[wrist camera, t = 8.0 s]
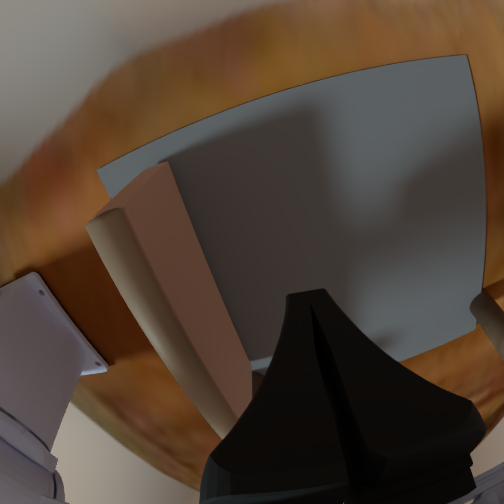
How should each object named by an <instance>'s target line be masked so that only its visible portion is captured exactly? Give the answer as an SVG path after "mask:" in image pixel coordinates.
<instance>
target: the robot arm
mask: <svg viewBox="0 0 504 504" xmlns="http://www.w3.org/2000/svg"><path fill="white" fill-rule="evenodd" d="M108 368H109V366H108V364H107V363H106V362H105V361H104V360H103V358H102V357H101V356H100V355H99V354H98V353H97V351H96V350H95V349H94V348H93V347H92V345H91V344H90V343H89V342H88V341H87V339H86V338H85V337H84V336H83V334H82V333H81V332H80V331H79V329H78V328H77V327H76V326H75V324H74V323H73V322H72V320H71V319H70V318H69V316H68V315H67V314H66V313H65V311H64V310H63V308H62V307H61V306H60V304H59V303H58V302H57V300H56V299H55V297H54V296H53V295H52V293H51V292H50V290H49V289H48V287H47V286H46V284H45V283H44V281H43V280H42V278H41V277H40V276H39V274H37V273H36V272H31V273H29V274H27V275H25V276H23V277H21V278H19V279H17V280H15V281H13V282H11V283H9V284H7V285H5V286H4V287H2V288H0V504H69V503H66V502H65V494H64V486H63V482H62V479H61V476H60V474H59V473H58V472H57V470H55V468H56V465H57V461H58V459H57V458H56V457H55V456H53V455H52V454H51V453H50V452H51V449H52V446H53V443H54V440H55V438H56V435H57V432H58V430H59V427H60V424H61V422H62V419H63V416H64V414H65V412H66V409H67V406H68V404H69V402H70V399H71V397H72V394H73V392H74V390H75V387H76V385H77V382H78V380H79V378H80V376H81V375H87V374H94V373H101V372H106V371H107V370H108ZM486 429H487V428H486V426H485V424H484V421H483V419H482V417H481V415H480V413H479V412H478V410H477V409H476V407H475V406H474V404H473V403H472V401H470V400H468V399H466V398H463V397H461V396H458V395H456V394H454V393H451V392H449V391H446V390H444V389H442V388H440V387H438V386H436V385H434V384H432V383H430V382H429V381H427V380H425V379H424V378H422V377H420V376H419V375H417V374H416V373H414V372H412V371H411V370H409V369H407V368H406V367H404V366H403V365H402V364H400V363H399V362H397V361H396V360H395V359H393V358H392V357H391V356H389V355H388V354H387V353H386V352H384V351H383V350H382V349H381V348H379V347H378V346H377V345H376V344H375V343H374V342H373V341H371V340H370V339H369V338H368V337H367V336H366V335H365V334H364V333H363V332H362V331H361V330H360V329H359V328H358V327H357V326H356V325H355V324H354V323H353V322H352V321H351V320H350V319H349V317H348V316H347V315H346V314H345V313H344V312H343V311H342V310H341V308H340V307H339V306H338V305H337V304H336V302H335V301H334V300H333V299H332V297H331V296H330V294H329V293H328V292H327V290H325V289H324V288H321V289H315V290H309V291H303V292H297V293H291V294H288V295H287V296H286V308H285V315H284V321H283V325H282V329H281V333H280V337H279V340H278V343H277V346H276V349H275V352H274V354H273V357H272V360H271V362H270V365H269V367H268V369H267V371H266V374H265V376H264V378H263V380H262V382H261V384H260V386H259V387H258V389H257V391H256V393H255V395H254V397H253V398H252V400H251V402H250V403H249V405H248V406H247V408H246V409H245V411H244V412H243V414H242V415H241V416H240V418H239V419H238V421H237V422H236V424H235V425H234V426H233V428H232V429H231V430H230V432H229V433H228V434H227V435H226V436H225V438H224V439H223V440H222V441H221V442H220V443H219V445H218V446H217V447H216V448H215V449H214V450H213V451H212V452H211V454H210V455H209V457H208V460H207V463H206V466H205V469H204V472H203V476H202V481H201V486H200V501H199V504H343V503H344V504H464V503H466V502H468V501H471V500H473V499H474V501H473V503H471V504H504V462H503V463H501V464H499V465H497V466H496V467H494V468H492V469H490V470H488V471H486V472H484V473H482V474H480V475H478V476H477V477H474V478H473V475H472V472H471V469H470V467H471V466H472V465H473V462H472V459H471V456H470V453H471V452H472V451H473V450H474V449H475V447H476V446H477V445H478V444H479V443H480V442H481V440H482V439H483V437H484V436H485V433H486Z"/></svg>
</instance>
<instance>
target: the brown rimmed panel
mask: <svg viewBox="0 0 504 504" xmlns="http://www.w3.org/2000/svg"><path fill="white" fill-rule="evenodd" d="M85 228H86V230H87V232H88V234H89V236H90V238H91V240H92V242H93V244H94V246H95V248H96V250H97V252H98V253H99V255H100V257H101V259H102V261H103V263H104V265H105V267H106V269H107V270H108V272H109V274H110V276H111V278H112V279H113V281H114V283H115V285H116V287H117V288H118V290H119V292H120V294H121V295H122V297H123V299H124V300H125V302H126V304H127V306H128V307H129V309H130V311H131V312H132V314H133V315H134V317H135V319H136V320H137V322H138V324H139V325H140V327H141V328H142V330H143V332H144V333H145V335H146V336H147V338H148V339H149V341H150V342H151V344H152V345H153V347H154V349H155V350H156V352H157V353H158V355H159V356H160V357H161V359H162V360H163V362H164V363H165V365H166V366H167V368H168V369H169V371H170V372H171V373H172V375H173V376H174V378H175V379H176V380H177V382H178V383H179V385H180V386H181V387H182V389H183V390H184V391H185V393H186V394H187V395H188V397H189V398H190V400H191V401H192V402H193V403H194V405H195V406H196V407H197V409H198V410H199V411H200V413H201V414H202V415H203V416H204V418H205V419H206V420H207V421H208V423H209V424H210V425H211V426H212V428H213V429H214V430H215V431H216V433H217V434H218V435H219V436H220V437H221V439H222V440H223V439H224V438H225V436H226V435H227V434H228V433H229V432H230V430H231V429H232V428H233V426H234V425H235V424H236V422H237V421H238V419H239V418H240V416H241V415H242V414H243V412H244V411H245V409H246V408H247V406H248V405H249V403H250V402H251V400H252V366H251V364H250V361H249V359H248V357H247V355H246V353H245V350H244V348H243V346H242V344H241V341H240V339H239V337H238V334H237V332H236V330H235V328H234V325H233V323H232V321H231V318H230V316H229V314H228V311H227V309H226V307H225V304H224V302H223V300H222V297H221V295H220V292H219V290H218V288H217V285H216V283H215V280H214V278H213V276H212V273H211V271H210V268H209V266H208V263H207V261H206V259H205V256H204V254H203V251H202V249H201V246H200V244H199V241H198V239H197V236H196V234H195V231H194V228H193V226H192V223H191V221H190V218H189V216H188V213H187V211H186V208H185V205H184V203H183V200H182V197H181V195H180V192H179V190H178V187H177V184H176V182H175V179H174V176H173V173H172V171H171V168H170V165H169V163H168V161H166V162H163V163H160V164H158V165H155V166H152V167H149V168H147V169H144V170H143V171H142V172H141V173H140V174H139V175H138V176H136V177H135V178H134V179H133V180H132V181H131V182H130V183H129V184H128V185H126V186H125V187H124V188H123V189H122V190H121V191H120V192H119V193H118V194H117V195H116V196H115V197H114V198H112V199H111V200H110V201H109V202H108V203H107V204H106V205H105V206H104V207H103V208H102V209H101V210H100V211H99V212H98V213H97V214H96V215H95V216H94V217H93V219H92V220H90V221H89V222H88V223H87V224H86V226H85Z"/></svg>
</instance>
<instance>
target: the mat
mask: <svg viewBox="0 0 504 504" xmlns="http://www.w3.org/2000/svg"><path fill="white" fill-rule="evenodd" d="M166 161H168V163H169V165H170V168H171V171H172V173H173V176H174V179H175V182H176V184H177V187H178V190H179V192H180V195H181V197H182V200H183V203H184V205H185V208H186V211H187V213H188V216H189V218H190V221H191V223H192V226H193V228H194V231H195V234H196V236H197V239H198V241H199V244H200V246H201V249H202V251H203V254H204V256H205V259H206V261H207V263H208V266H209V268H210V271H211V273H212V276H213V278H214V280H215V283H216V285H217V288H218V290H219V292H220V295H221V297H222V300H223V302H224V304H225V307H226V309H227V311H228V314H229V316H230V318H231V321H232V323H233V325H234V328H235V330H236V332H237V334H238V337H239V339H240V341H241V344H242V346H243V348H244V350H245V353H246V355H247V357H248V359H249V361H250V364H251V366H252V371H255V372H259V373H261V374H263V375H264V376H265V374H266V371H267V369H268V367H269V365H270V362H271V360H272V357H273V354H274V352H275V349H276V346H277V343H278V340H279V337H280V333H281V329H282V325H283V321H284V315H285V308H286V296H287V295H288V294H291V293H297V292H303V291H309V290H315V289H321V288H324V289H325V290H327V292H328V293H329V294H330V296H331V297H332V299H333V300H334V301H335V302H336V304H337V305H338V306H339V307H340V308H341V310H342V311H343V312H344V313H345V314H346V315H347V316H348V317H349V319H350V320H351V321H352V322H353V323H354V324H355V325H356V326H357V327H358V328H359V329H360V330H361V331H362V332H363V333H364V334H365V335H366V336H367V337H368V338H369V339H370V340H371V341H373V342H374V343H375V344H376V345H377V346H378V347H379V348H381V349H382V350H383V351H384V352H386V353H387V354H388V355H389V356H391V357H392V358H393V359H395V360H396V361H397V362H400V361H403V360H405V359H408V358H410V357H413V356H416V355H418V354H421V353H423V352H426V351H428V350H431V349H433V348H435V347H438V346H440V345H442V344H445V343H447V342H449V341H452V340H454V339H456V338H458V337H460V336H463V335H465V334H467V333H469V332H471V331H473V330H475V329H476V323H477V320H476V319H475V317H474V316H473V314H472V313H471V312H470V304H471V302H472V300H473V299H474V298H475V297H476V296H477V295H478V294H480V293H481V289H482V281H483V271H484V259H485V242H486V180H485V164H484V152H483V142H482V134H481V126H480V119H479V113H478V106H477V101H476V95H475V90H474V85H473V81H472V76H471V72H470V68H469V63H468V60H467V56H466V55H456V56H446V57H437V58H429V59H421V60H414V61H408V62H402V63H396V64H390V65H385V66H379V67H374V68H369V69H365V70H360V71H355V72H351V73H347V74H342V75H338V76H334V77H330V78H326V79H322V80H319V81H315V82H311V83H308V84H304V85H301V86H297V87H294V88H290V89H287V90H284V91H281V92H277V93H274V94H271V95H268V96H265V97H262V98H259V99H256V100H253V101H250V102H248V103H245V104H242V105H239V106H236V107H234V108H231V109H228V110H226V111H223V112H220V113H218V114H215V115H213V116H210V117H208V118H205V119H203V120H200V121H198V122H195V123H193V124H191V125H188V126H186V127H184V128H181V129H179V130H177V131H174V132H172V133H170V134H168V135H165V136H163V137H161V138H159V139H157V140H155V141H152V142H150V143H148V144H146V145H144V146H142V147H140V148H138V149H136V150H134V151H132V152H130V153H128V154H126V155H124V156H122V157H120V158H118V159H116V160H114V161H112V162H111V163H109V164H107V165H105V166H103V167H101V168H99V169H98V170H96V171H97V173H98V175H99V177H100V179H101V181H102V183H103V185H104V187H105V189H106V191H107V193H108V195H109V197H110V198H111V199H112V198H114V197H115V196H116V195H117V194H118V193H119V192H120V191H121V190H122V189H123V188H124V187H125V186H126V185H128V184H129V183H130V182H131V181H132V180H133V179H134V178H135V177H136V176H138V175H139V174H140V173H141V172H142V171H143V170H144V169H147V168H149V167H152V166H155V165H158V164H160V163H163V162H166Z"/></svg>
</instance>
